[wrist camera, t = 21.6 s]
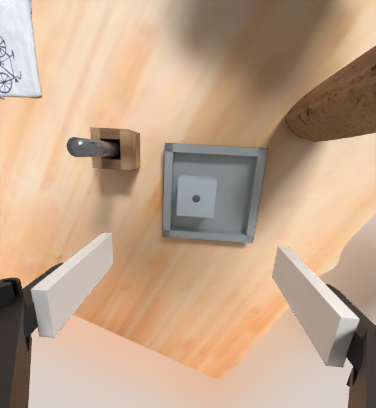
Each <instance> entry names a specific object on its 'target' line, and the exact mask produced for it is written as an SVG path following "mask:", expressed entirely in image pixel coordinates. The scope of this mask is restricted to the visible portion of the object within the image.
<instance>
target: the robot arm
mask: <svg viewBox="0 0 376 408" xmlns="http://www.w3.org/2000/svg"><path fill="white" fill-rule="evenodd" d="M113 264H114V261H113V241H112V233H102V234H100V235H99V236H98V237H97V238H95V239H94V240H93V241H91V242H90V243H89V244H88V245H86V246H85V247H84V248H83V249H81V250H80V251H79V252H77V253H76V254H75V255H74V256H72V257H71V258H70V259H69V260H67V261H66V262H65V263H60V264H57V265H55V266H53V267H52V268H50V269H49V270H47V271H46V272H45V273H43V274H42V275H41V276H39V278H37V279H35V280H34V281H33V282H31V283H30V284H29V285H27V286H26V287H25V288H23V289H22V287H21V282H20V279H18V278H6V279H2V280H0V408H28V399H29V380H30V363H31V345H32V338H31V333H32V332H33V331H34V330H35V329H36V328H37V327H38V332H39V336H41V337H51V338H54V337H55V336H56V335H57V334H58V332H59V331H60V330H61V329H62V327H63V326H64V325H65V324H66V322H67V321H68V320H69V319H70V317H71V316H72V315H73V314H74V312H75V311H76V310H77V309H78V307H79V306H80V305H81V304H82V302H83V301H84V300H85V299H86V297H87V296H88V295H89V294H90V293H91V291H92V290H93V289H94V288H95V286H96V285H97V284H98V283H99V281H100V280H101V279H102V278H103V276H104V275H105V274H106V273H107V271H108V270H109V269H110V268H111V266H112V265H113ZM272 278H273V279H274V281H275V283H276V284H277V286H278V287H279V289H280V291H281V292H282V294H283V296H284V297H285V299H286V301H287V302H288V304H289V306H290V307H291V309H292V311H293V312H294V313H295V316H296V317H297V319H298V320H299V322H300V324H301V325H302V327H303V329H304V330H305V332H306V334H307V335H308V337H309V339H310V340H311V342H312V344H313V345H314V347H315V348H316V350H317V352H318V353H319V355H320V357H321V358H322V360H323V362H324V363H325V365H326V366H335V367H343V366H344V363H345V360H346V357H347V358H348V360H349V361H350V362H351V364H352V365H353V368H352V371H351V373H350V376H349V379H348V382H347V385H348V386H349V387H350V389H349V402H348V408H376V325H374V324H373V323H372V322H371V321H370V320H369V319H368V318H367V317H366V316H365V315H364V314H363V313H362V312H360V311H359V310H358V309H357V308H356V307H355V306H354V305H352V303H351V302H350V301H349V300H348V299H346V297H345V296H344V295H343V294H342V293H341V292H340V291H339V290H337V289H335V288H334V287H332V286H331V285H328V284H324V283H323V281H322V280H321V279H320V278H319V277H318V276H317V275H316V274H315V273H314V272H313V271H312V270H311V269H310V268H309V267H308V266H307V265H306V264H305V263H304V262H303V261H302V260H301V259H300V258H299V257H298V256H297V255H296V254H295V253H294V252H293V251H292V250H291V249H290V248H289V247H286V246H278V249H277V254H276V259H275V264H274V269H273V275H272Z"/></svg>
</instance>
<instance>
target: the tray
mask: <svg viewBox="0 0 376 408" xmlns="http://www.w3.org/2000/svg"><path fill="white" fill-rule="evenodd" d="M267 150H268V148H251V147H233V146H214V145H195V144H177V143H165V162H164V205H163V236H165V237H178V238H191V239H204V240H218V241H231V242H244V243H253V240H254V234H255V227H256V221H257V214H258V208H259V201H260V195H261V188H262V182H263V175H264V169H265V162H266V156H267ZM181 175H187V176H202V177H215V179H216V180H217V188H216V199H215V209H214V218H205V217H192V216H178V215H177V193H178V178H179V177H180V176H181Z"/></svg>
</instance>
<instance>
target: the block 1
mask: <svg viewBox="0 0 376 408" xmlns="http://www.w3.org/2000/svg"><path fill="white" fill-rule="evenodd" d="M216 188H217V180H216V179H215V177H202V176H187V175H181V176H180V177H179V178H178V193H177V215H178V216H192V217H205V218H214V209H215V199H216Z"/></svg>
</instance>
